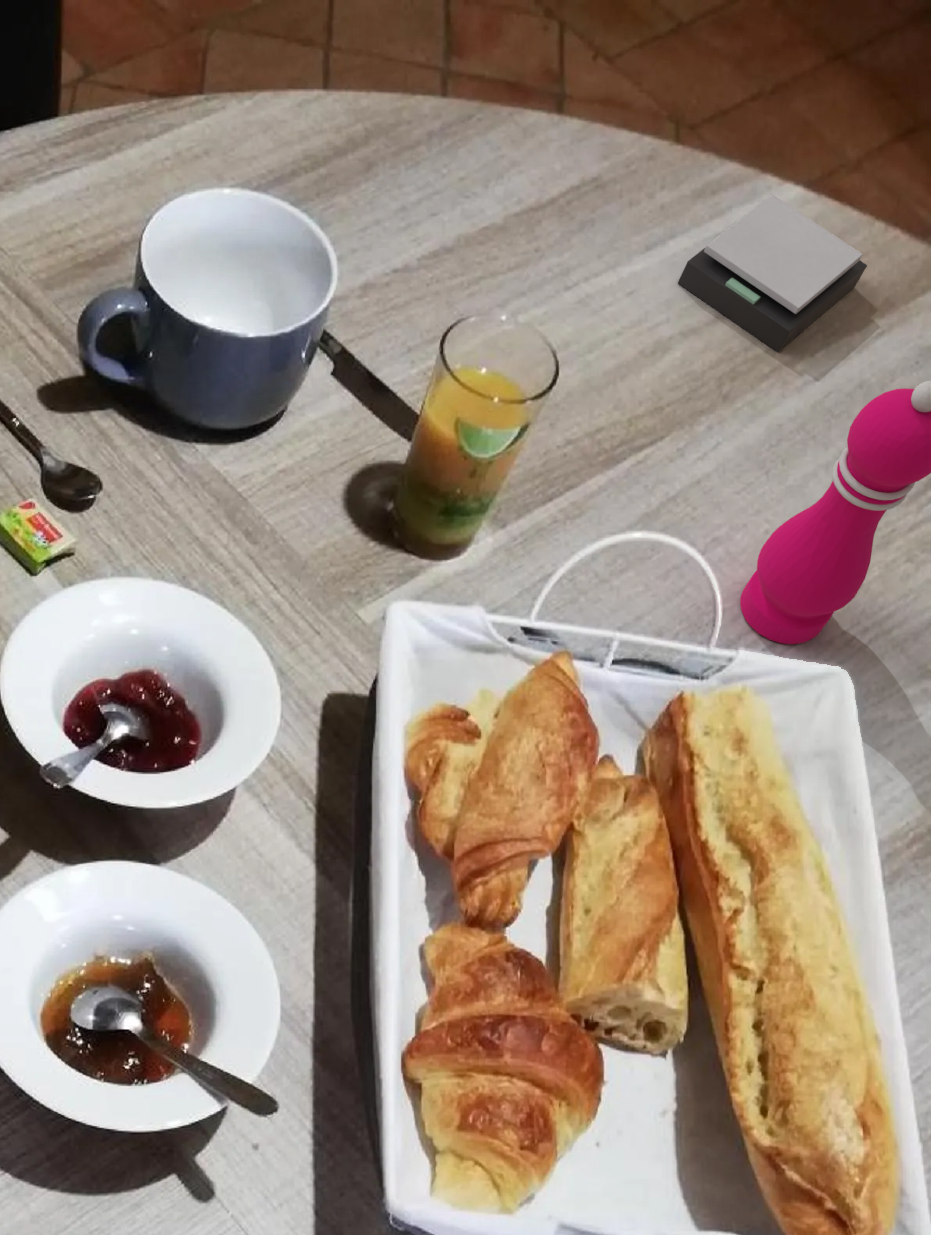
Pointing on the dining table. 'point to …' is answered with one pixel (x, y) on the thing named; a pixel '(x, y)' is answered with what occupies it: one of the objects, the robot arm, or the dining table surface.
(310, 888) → the dining table surface
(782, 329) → the scale
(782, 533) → the pepper mill
